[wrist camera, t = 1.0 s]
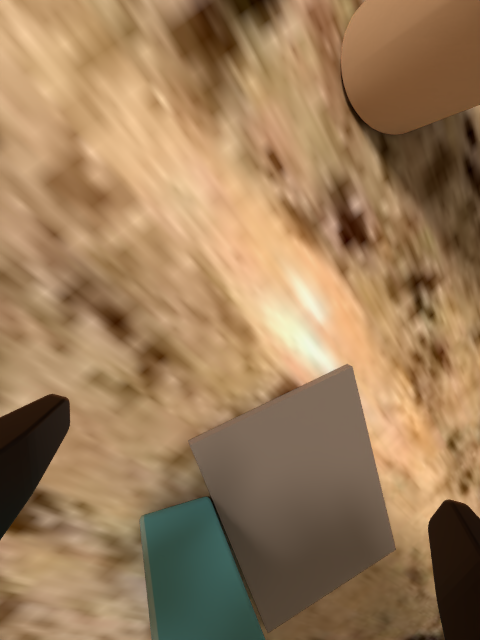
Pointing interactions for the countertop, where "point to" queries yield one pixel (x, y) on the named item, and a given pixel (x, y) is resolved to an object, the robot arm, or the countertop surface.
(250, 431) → the mat
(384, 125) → the travel mug
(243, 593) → the data package
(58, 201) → the countertop surface
